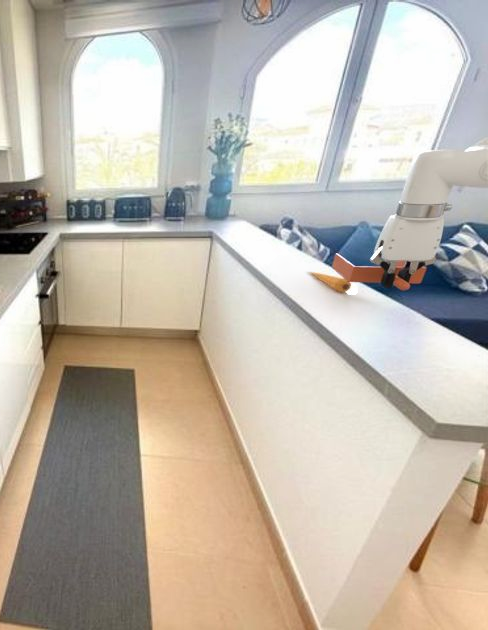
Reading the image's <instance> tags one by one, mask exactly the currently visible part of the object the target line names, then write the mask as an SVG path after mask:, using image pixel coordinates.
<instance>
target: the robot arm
mask: <svg viewBox="0 0 488 630" xmlns="http://www.w3.org/2000/svg"><path fill="white" fill-rule="evenodd" d="M410 164H411V165H410V168H409V170H408V174H407V177H406V180H405V183H404V186H403V189H402V193H401V195H400V199H399V202H398V204H397V207H396V211H395V214H394V215H390V216H389V217H388V219H387V221H386V222H385V224H384V226H383V228H382V230H381V232H380V234H379V237H378V238H377V241H376V244H375V247H374V249H373V255H372V256H371V257H370V258H369V261H370V262H371V263H373V264H375V265H377V266H379V267H382V268H383V270H384V273H383V277H382V280H381V283H380V284H381V286H382V287H384V288H385V289H386V290H391V289H392V288H393V286H394V285H393V282H394V279H395V276H396V274H395V273H394V271H395V268H396V265H397V262H398V261H405V264H404V267H403V270H400V271H399V273H398V277H400V278H401V279H403V280H404V281H406V282H408V283H409V280H410V277H411V274H414V273H415V272H416V270H418V269H420V268H421V267H423V266H424V267H427V266H430V265H433V264H435V263H437V258H436V255H437V252H438V251H439V248H440V244H441V240H442V238H443V237H442V236H443V231H444V224H445V217H444V216H443V215H444V213H445V212H449V211H451V210H452V209H453V205H452V204H448V200H449V197H450V195H451V192H452V190H453V187H467V188H477V189H479V188H480V189H484V188H488V136H486V137H485V138H483V139H481V140H480V141H478V142H476V143H474V144H473V145H471V146H470V147H468V148H467V149H465V150H461V149H454V148H453V149H452V148H451V149H450V148H449V149H431V150H430V149H429V150H423V151H420V152H418V153H417V154H416V155H415V156H414V157H413V159H412V161H411V163H410ZM409 284H410V283H409Z"/></svg>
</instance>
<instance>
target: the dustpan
mask: <svg viewBox="0 0 488 630" xmlns="http://www.w3.org/2000/svg"><path fill="white" fill-rule="evenodd" d="M404 264H405V261H398V262H397V265H396V268H395V271H394V273H395V274H396V276H395V279H394V282H393V285H392V286H394V287H396V288H397V289H399V290H401V291H407V290H409V289H410V287H411V284H418V285H419V284H421V283H422V281H423V280H424V279H423V278H424V276H425V274H426V271H427V266H423V267H421V268H420V269H418V270H416V272H415V273H414V274H411V277H410V280H409V283H408V282H406V281H404V280H403V279H401V278H400V277H398V273H399V271H400V270H403V267H404ZM331 268H332V269H333V271H335V272H336V273H337V274H338V275H339V276H341V278H344V279H345V280H347V281H348V282H350V283H373V284H375V283H376V284H377V283H378V284H381V280H382V277H383V273H384V270H383V268H382V267H381V266H368V265H367V266H366V265H365V266H364V265H363V266H361V265H359V266H358V265H357V266H356V265H354V264H353V263H351V262H350V261H349V260H347V259H346V258H345V257H343V256H342V255H340V254H339V253H338V252H336V253H334V257H333V261H332V265H331Z"/></svg>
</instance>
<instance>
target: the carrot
mask: <svg viewBox="0 0 488 630" xmlns="http://www.w3.org/2000/svg"><path fill="white" fill-rule="evenodd" d="M310 274H312V275H313V276H314V277H315V278H316V279H318V280H319V281H321V282H322V283H324V284H325V285H327V286H329V287H330V288H331V289H333V290H335V291H336V292H339V293H341V292H342V293H344V292H345V293H346V292H348V291H349V290H350V289H351V286H352V282H348V281H347V280H345V279H344V278H343V277H338V276H336V275H329V274H324V273H321V272H320V273H319V272H311V271H310Z"/></svg>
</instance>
